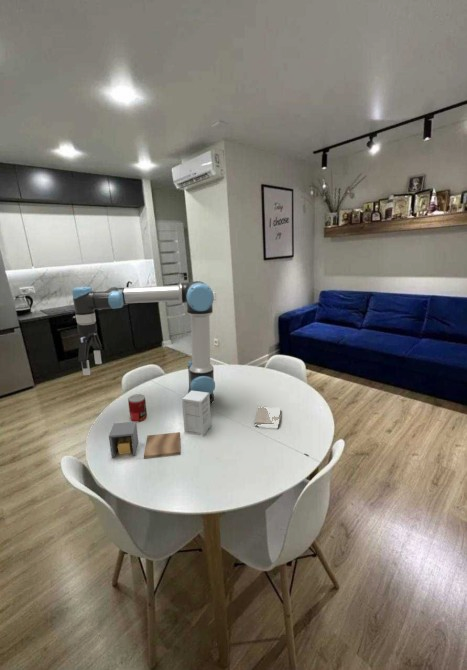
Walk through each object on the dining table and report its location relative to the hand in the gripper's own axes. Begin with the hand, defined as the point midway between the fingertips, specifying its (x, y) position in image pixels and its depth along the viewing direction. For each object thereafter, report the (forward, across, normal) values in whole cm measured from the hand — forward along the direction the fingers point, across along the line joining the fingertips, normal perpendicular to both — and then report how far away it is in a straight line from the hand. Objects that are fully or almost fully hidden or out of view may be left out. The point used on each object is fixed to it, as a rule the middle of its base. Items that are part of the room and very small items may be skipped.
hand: (93, 369), depth 136 cm
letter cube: (+28, +22, +18) cm, 39 cm away
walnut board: (+28, +20, +32) cm, 47 cm away
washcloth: (+28, +2, +80) cm, 85 cm away
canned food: (+28, -4, +17) cm, 33 cm away
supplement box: (+28, +8, +46) cm, 55 cm away
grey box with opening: (+28, +22, +18) cm, 39 cm away
